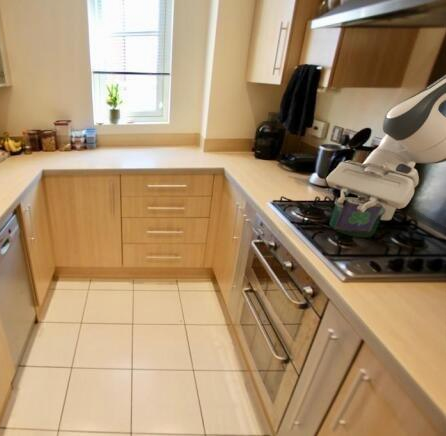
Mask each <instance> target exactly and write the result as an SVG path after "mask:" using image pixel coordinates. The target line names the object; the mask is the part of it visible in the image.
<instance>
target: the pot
mask: <svg viewBox="0 0 446 436" xmlns="http://www.w3.org/2000/svg"><path fill="white" fill-rule="evenodd" d="M334 204H335V203H334ZM341 210H342V209H341V208H339V207H338V206H336V204H335V205H334V207H333V211H332V214H331V216H330V219H329V226H330V227H331V228H332V229H333V230H334V231H336V232H338V233H341V234H344V235H346V236H350V237H355V238H371V237H373V236H374V235H375V233H376V231H377V229H378V226H379V224H380V222H381V220H380V219H381V217H382V215H380V216H378V217H377V219H376V220H375V222H374V224H373V226H372V228H371V230H370V231H369V232H356V231H348V230H342V229H338V228H336V227H335V224H336V222H337V220H338V217H339V215H340V213H341Z"/></svg>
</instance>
